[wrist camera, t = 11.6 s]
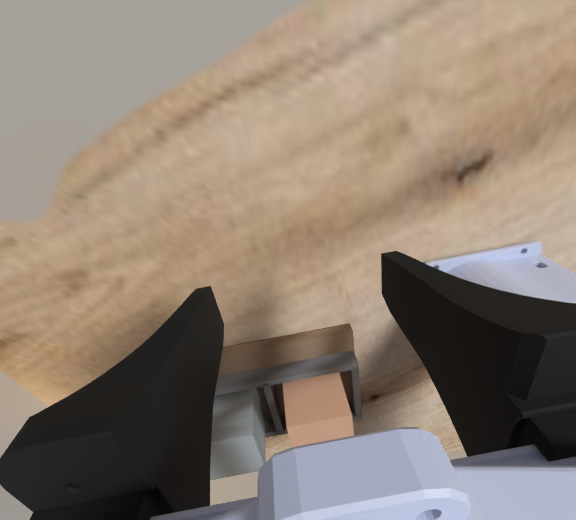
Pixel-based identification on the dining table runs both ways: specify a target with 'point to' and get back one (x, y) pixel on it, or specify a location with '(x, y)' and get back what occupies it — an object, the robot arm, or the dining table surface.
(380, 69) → the dining table surface
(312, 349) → the puzzle board
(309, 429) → the terracotta block
